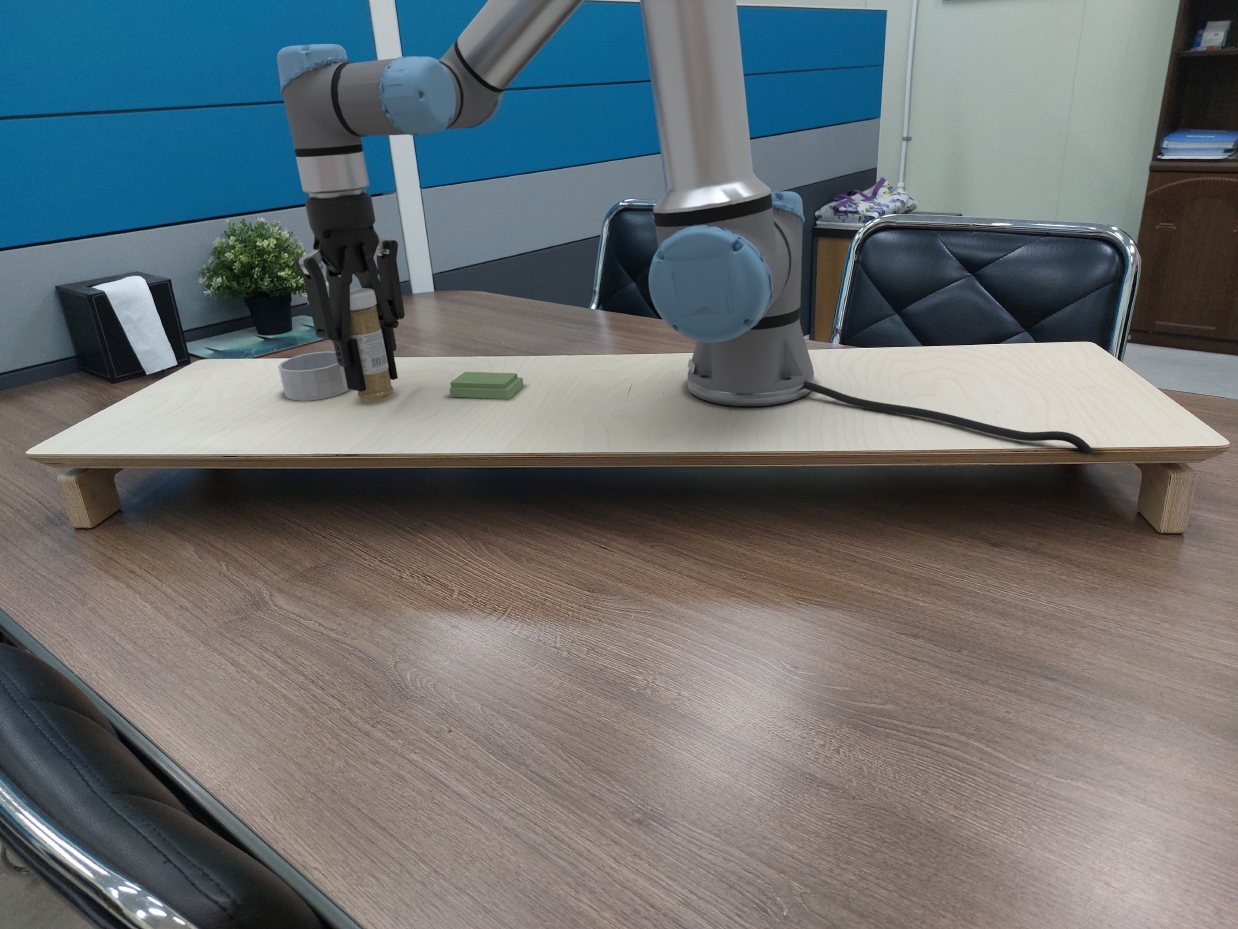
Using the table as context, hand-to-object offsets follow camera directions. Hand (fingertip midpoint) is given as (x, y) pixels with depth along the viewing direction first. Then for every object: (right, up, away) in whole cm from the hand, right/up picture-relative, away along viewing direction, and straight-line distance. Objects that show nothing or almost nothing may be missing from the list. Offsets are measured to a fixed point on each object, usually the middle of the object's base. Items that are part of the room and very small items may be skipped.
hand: (373, 382), depth 107 cm
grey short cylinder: (-9, 0, +6) cm, 10 cm away
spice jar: (0, -2, +1) cm, 2 cm away
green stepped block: (+15, -1, 0) cm, 15 cm away
